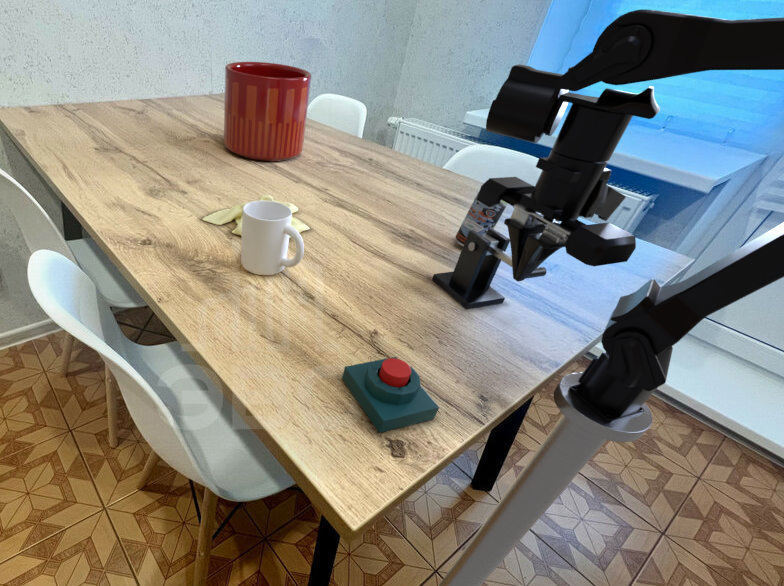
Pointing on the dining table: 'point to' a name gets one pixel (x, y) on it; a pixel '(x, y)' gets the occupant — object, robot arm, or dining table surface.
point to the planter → (265, 110)
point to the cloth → (237, 214)
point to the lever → (509, 257)
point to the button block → (389, 397)
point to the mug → (268, 238)
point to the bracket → (474, 272)
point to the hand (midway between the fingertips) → (518, 279)
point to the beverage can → (480, 219)
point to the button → (395, 372)
